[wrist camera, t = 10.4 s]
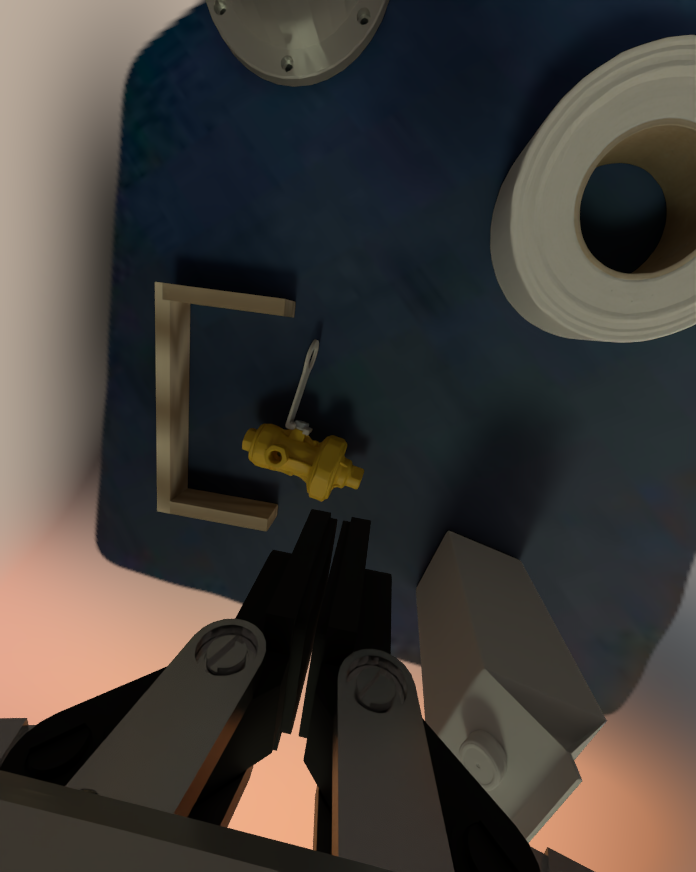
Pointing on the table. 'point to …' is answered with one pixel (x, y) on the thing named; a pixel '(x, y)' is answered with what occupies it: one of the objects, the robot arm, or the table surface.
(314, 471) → the pressure relief valve
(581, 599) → the table surface
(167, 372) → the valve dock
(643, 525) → the table surface
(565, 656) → the milk carton
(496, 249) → the roll of tape
